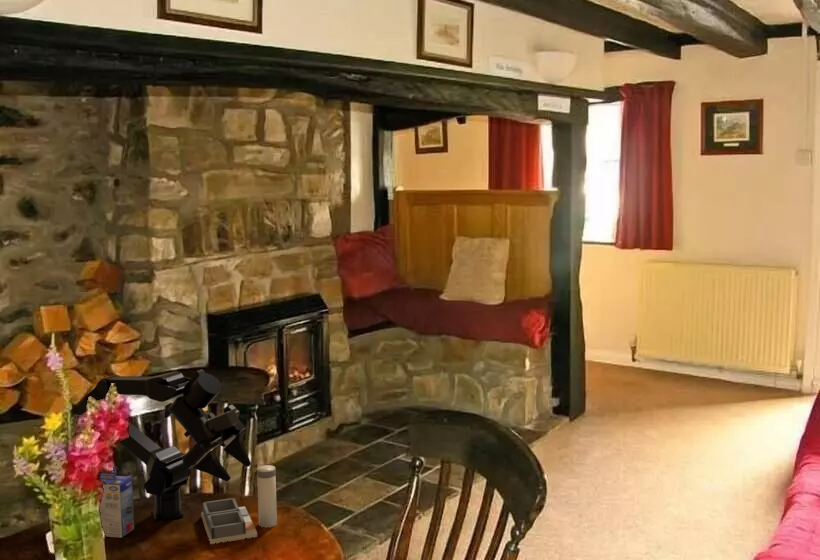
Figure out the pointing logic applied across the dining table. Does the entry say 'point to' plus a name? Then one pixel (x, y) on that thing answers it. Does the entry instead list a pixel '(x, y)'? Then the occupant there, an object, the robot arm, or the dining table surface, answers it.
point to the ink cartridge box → (117, 504)
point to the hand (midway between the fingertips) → (239, 472)
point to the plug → (267, 496)
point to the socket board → (226, 521)
